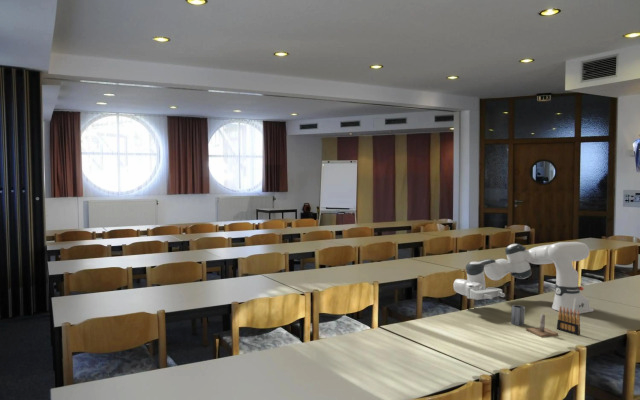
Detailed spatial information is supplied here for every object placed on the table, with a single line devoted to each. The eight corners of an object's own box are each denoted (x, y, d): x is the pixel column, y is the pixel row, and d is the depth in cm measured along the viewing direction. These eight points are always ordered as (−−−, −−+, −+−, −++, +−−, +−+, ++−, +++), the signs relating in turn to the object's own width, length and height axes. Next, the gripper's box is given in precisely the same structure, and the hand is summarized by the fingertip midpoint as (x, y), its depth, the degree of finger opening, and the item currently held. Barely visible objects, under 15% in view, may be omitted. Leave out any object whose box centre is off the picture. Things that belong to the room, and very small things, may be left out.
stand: (542, 328, 248) (543, 311, 248) (557, 335, 239) (558, 317, 238) (526, 330, 245) (527, 312, 245) (540, 337, 236) (541, 318, 235)
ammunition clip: (556, 329, 248) (557, 305, 248) (558, 328, 249) (559, 305, 249) (578, 335, 240) (579, 311, 239) (580, 334, 241) (581, 310, 240)
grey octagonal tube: (518, 321, 260) (519, 304, 259) (526, 325, 254) (527, 307, 253) (508, 322, 258) (509, 305, 257) (516, 326, 252) (517, 308, 252)
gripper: (489, 294, 283) (510, 300, 271) (464, 298, 272) (485, 304, 260) (490, 283, 283) (511, 288, 271) (465, 287, 272) (486, 292, 260)
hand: (498, 296), depth 266 cm, fingers open, 8 cm apart
